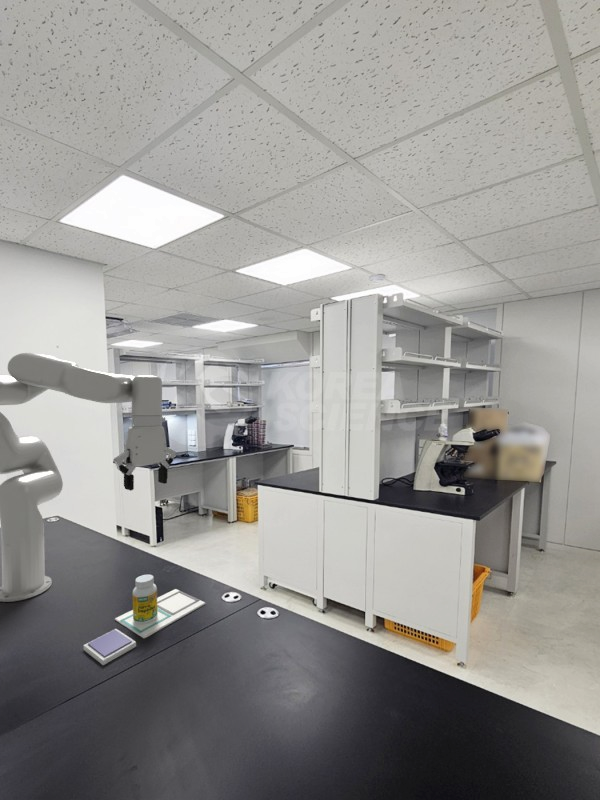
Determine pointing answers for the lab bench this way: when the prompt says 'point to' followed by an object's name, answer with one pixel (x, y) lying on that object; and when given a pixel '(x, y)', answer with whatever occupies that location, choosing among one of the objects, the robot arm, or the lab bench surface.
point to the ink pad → (109, 646)
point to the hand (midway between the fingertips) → (146, 486)
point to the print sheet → (163, 613)
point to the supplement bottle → (144, 600)
